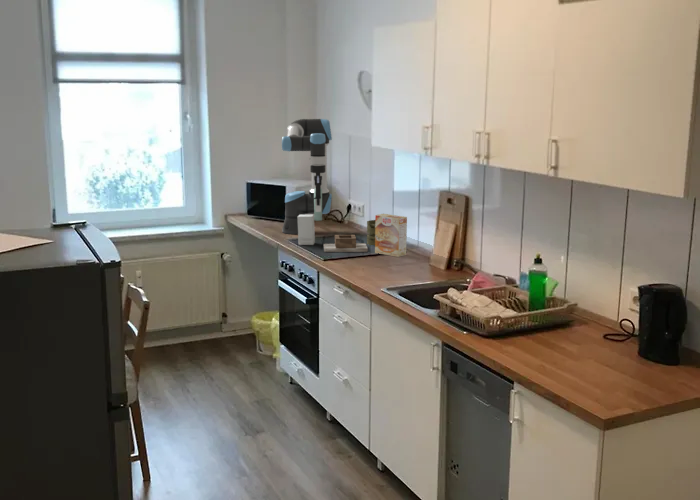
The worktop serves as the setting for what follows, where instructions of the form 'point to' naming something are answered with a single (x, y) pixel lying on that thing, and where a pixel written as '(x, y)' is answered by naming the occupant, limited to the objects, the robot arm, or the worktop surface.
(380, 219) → the coffeecake box
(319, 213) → the peg
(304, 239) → the skincare box
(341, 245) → the socket board
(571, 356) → the worktop surface
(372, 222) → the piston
